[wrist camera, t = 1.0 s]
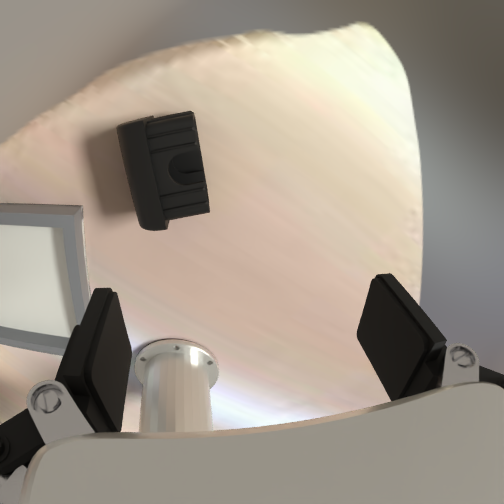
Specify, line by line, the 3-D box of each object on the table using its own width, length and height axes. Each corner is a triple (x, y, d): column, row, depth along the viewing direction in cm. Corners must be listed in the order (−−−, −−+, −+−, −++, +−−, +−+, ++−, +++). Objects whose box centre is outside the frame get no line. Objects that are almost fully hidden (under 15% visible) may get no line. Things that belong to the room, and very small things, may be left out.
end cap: (125, 122, 29) (107, 128, 23) (193, 107, 29) (191, 109, 24) (145, 211, 34) (134, 236, 28) (209, 198, 34) (211, 222, 28)
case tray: (99, 345, 41) (95, 360, 38) (-13, 327, 37) (-20, 339, 34) (82, 205, 32) (73, 215, 29) (-45, 202, 28) (-58, 211, 25)
